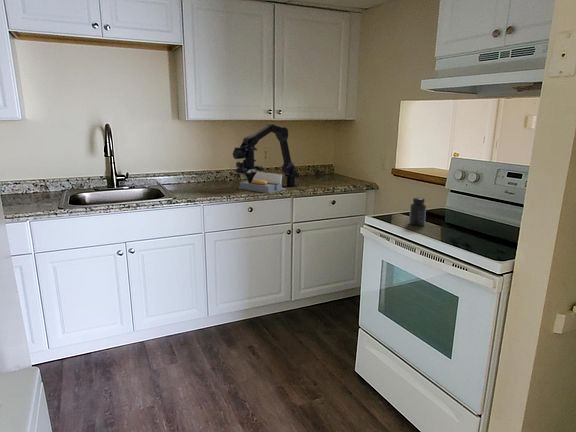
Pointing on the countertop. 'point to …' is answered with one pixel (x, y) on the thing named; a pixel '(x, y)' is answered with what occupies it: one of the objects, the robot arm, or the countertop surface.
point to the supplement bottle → (417, 212)
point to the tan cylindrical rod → (259, 182)
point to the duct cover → (268, 177)
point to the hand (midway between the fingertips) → (249, 183)
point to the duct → (261, 187)
